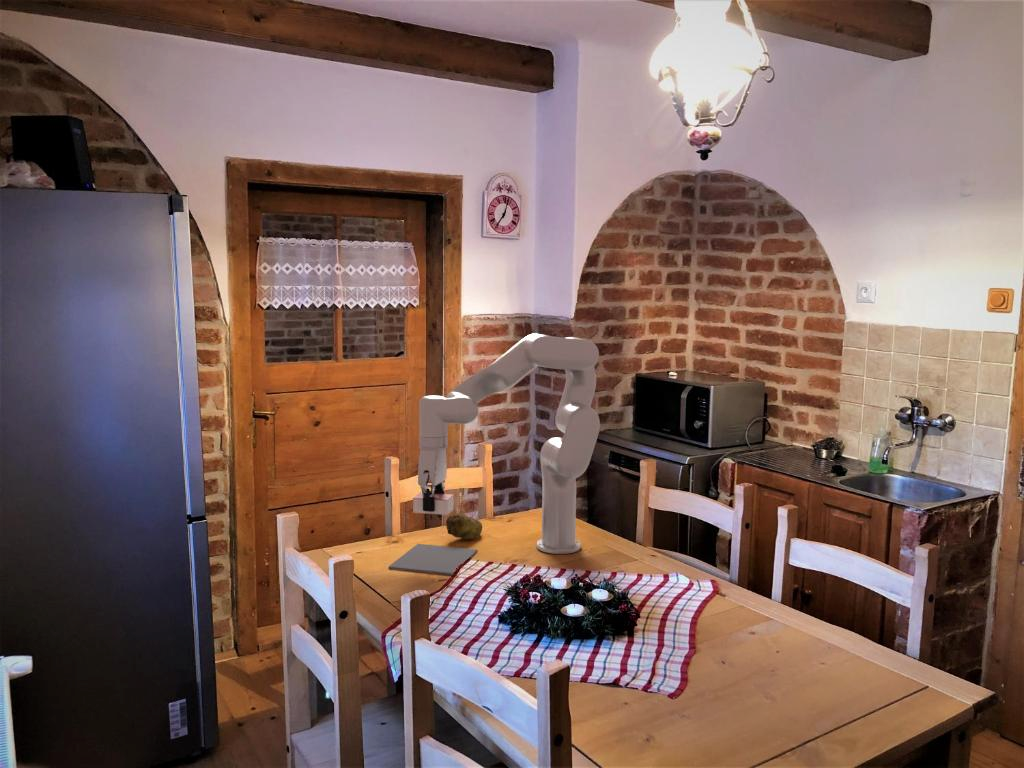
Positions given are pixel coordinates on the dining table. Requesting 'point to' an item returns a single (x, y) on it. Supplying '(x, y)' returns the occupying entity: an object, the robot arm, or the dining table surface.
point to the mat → (433, 559)
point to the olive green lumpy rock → (463, 526)
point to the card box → (442, 504)
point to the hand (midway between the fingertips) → (433, 507)
